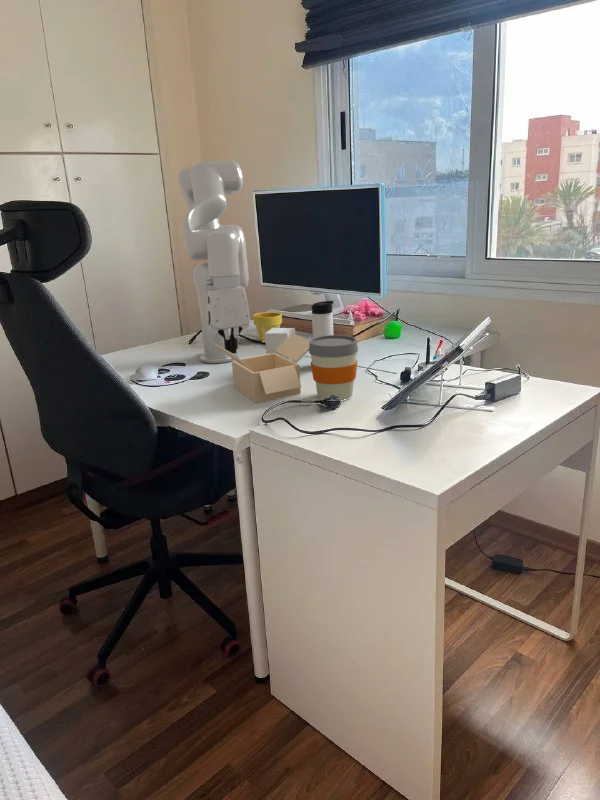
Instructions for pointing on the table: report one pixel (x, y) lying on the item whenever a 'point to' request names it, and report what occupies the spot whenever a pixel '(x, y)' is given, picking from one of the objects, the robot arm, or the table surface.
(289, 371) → the carton
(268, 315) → the plant pot
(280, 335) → the supplement box
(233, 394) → the table surface
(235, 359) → the flap
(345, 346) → the reusable coffee cup
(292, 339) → the flap
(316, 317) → the travel mug
